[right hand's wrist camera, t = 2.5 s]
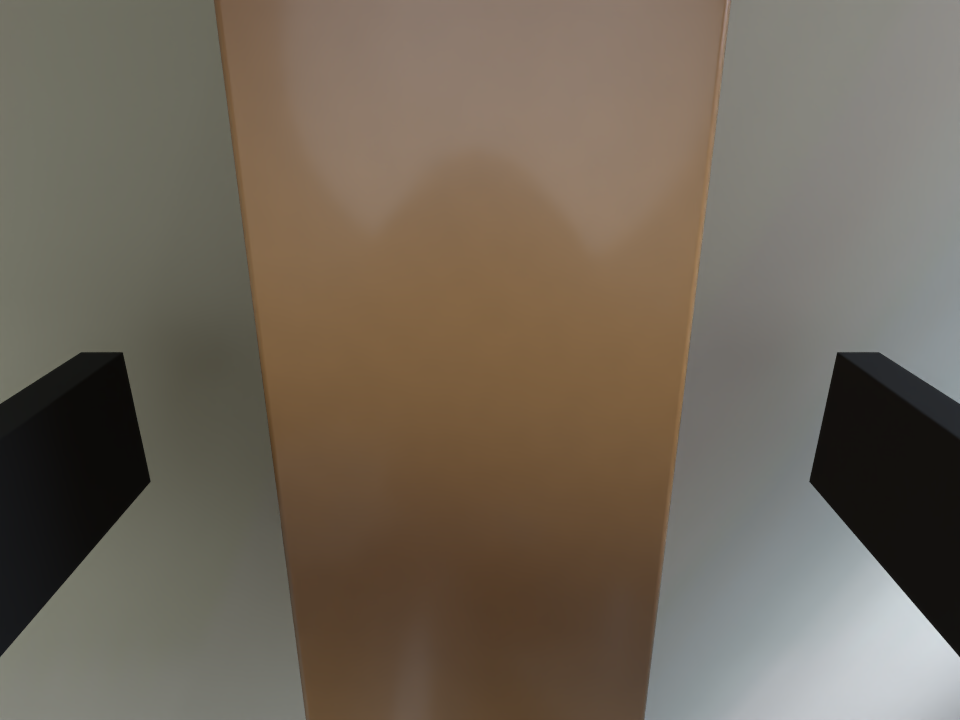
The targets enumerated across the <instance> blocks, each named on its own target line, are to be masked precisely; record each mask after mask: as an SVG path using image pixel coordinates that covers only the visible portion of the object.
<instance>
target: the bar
mask: <svg viewBox="0 0 960 720" xmlns="http://www.w3.org/2000/svg"><path fill="white" fill-rule="evenodd" d="M214 5H215V13H216V20H217V28H218V36H219V44H220V52H221V60H222V67H223V75H224V83H225V91H226V99H227V106H228V114H229V122H230V130H231V138H232V145H233V153H234V161H235V169H236V177H237V184H238V192H239V200H240V208H241V216H242V223H243V231H244V239H245V247H246V255H247V263H248V270H249V278H250V286H251V294H252V302H253V309H254V317H255V325H256V333H257V341H258V348H259V356H260V364H261V372H262V380H263V387H264V395H265V403H266V411H267V419H268V426H269V434H270V442H271V450H272V458H273V466H274V473H275V481H276V489H277V497H278V505H279V512H280V520H281V528H282V536H283V544H284V551H285V559H286V567H287V575H288V583H289V590H290V598H291V606H292V614H293V622H294V630H295V637H296V645H297V653H298V661H299V669H300V676H301V684H302V692H303V700H304V708H305V715H306V720H644V717H645V709H646V701H647V693H648V684H649V676H650V668H651V659H652V651H653V643H654V635H655V626H656V618H657V610H658V602H659V593H660V585H661V577H662V568H663V560H664V552H665V544H666V535H667V527H668V519H669V511H670V502H671V494H672V486H673V477H674V469H675V461H676V453H677V444H678V436H679V428H680V419H681V411H682V403H683V395H684V386H685V378H686V370H687V362H688V353H689V345H690V337H691V328H692V320H693V312H694V304H695V295H696V287H697V279H698V271H699V262H700V254H701V246H702V237H703V229H704V221H705V213H706V204H707V196H708V188H709V180H710V171H711V163H712V155H713V146H714V138H715V130H716V122H717V113H718V105H719V97H720V89H721V80H722V72H723V64H724V55H725V47H726V39H727V31H728V22H729V14H730V6H731V0H214Z"/></svg>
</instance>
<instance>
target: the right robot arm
mask: <svg viewBox="0 0 960 720" xmlns="http://www.w3.org/2000/svg"><path fill="white" fill-rule="evenodd" d="M150 482H151V481H150V476H149V472H148V467H147V463H146V458H145V453H144V449H143V444H142V439H141V435H140V430H139V425H138V421H137V416H136V412H135V407H134V402H133V398H132V393H131V388H130V384H129V379H128V375H127V370H126V365H125V361H124V356H123V352H81V353H79V354H78V355H76V356H75V357H73V358H72V359H70V360H68V361H67V362H65V363H64V364H62V365H61V366H59V367H57V368H56V369H54V370H53V371H51V372H50V373H48V374H46V375H45V376H43V377H42V378H40V379H39V380H37V381H36V382H34V383H32V384H31V385H29V386H28V387H26V388H25V389H23V390H21V391H20V392H18V393H17V394H15V395H14V396H12V397H11V398H9V399H7V400H6V401H4V402H3V403H1V404H0V657H1V655H2V654H3V653H4V652H5V651H6V650H7V648H8V647H9V646H10V645H11V644H12V643H13V641H14V640H15V639H16V638H17V637H18V636H19V634H20V633H21V632H22V631H23V630H24V629H25V627H26V626H27V625H28V624H29V623H30V622H31V620H32V619H33V618H34V617H35V616H36V615H37V613H38V612H39V611H40V610H41V609H42V608H43V606H44V605H45V604H46V603H47V602H48V601H49V599H50V598H51V597H52V596H53V595H54V594H55V592H56V591H57V590H58V589H59V588H60V587H61V585H62V584H63V583H64V582H65V581H66V580H67V578H68V577H69V576H70V575H71V574H72V573H73V571H74V570H75V569H76V568H77V567H78V566H79V564H80V563H81V562H82V561H83V560H84V559H85V557H86V556H87V555H88V554H89V553H90V552H91V550H92V549H93V548H94V547H95V546H96V545H97V543H98V542H99V541H100V540H101V539H102V538H103V536H104V535H105V534H106V533H107V532H108V531H109V529H110V528H111V527H112V526H113V525H114V524H115V522H116V521H117V520H118V519H119V518H120V517H121V515H122V514H123V513H124V512H125V511H126V510H127V508H128V507H129V506H130V505H131V504H132V503H133V501H134V500H135V499H136V498H137V497H138V496H139V494H140V493H141V492H142V491H143V490H144V489H145V487H146V486H147V485H148V484H149V483H150ZM809 482H810V483H811V484H812V485H813V486H814V487H815V489H816V490H817V491H818V492H819V493H820V494H821V496H822V497H823V498H824V499H825V500H826V501H827V503H828V504H829V505H830V506H831V507H832V508H833V510H834V511H835V512H836V513H837V514H838V515H839V517H840V518H841V519H842V520H843V521H844V522H845V524H846V525H847V526H848V527H849V528H850V529H851V531H852V532H853V533H854V534H855V535H856V536H857V538H858V539H859V540H860V541H861V542H862V543H863V545H864V546H865V547H866V548H867V549H868V550H869V552H870V553H871V554H872V555H873V556H874V557H875V559H876V560H877V561H878V562H879V563H880V564H881V566H882V567H883V568H884V569H885V570H886V571H887V573H888V574H889V575H890V576H891V577H892V578H893V580H894V581H895V582H896V583H897V584H898V585H899V587H900V588H901V589H902V590H903V591H904V592H905V594H906V595H907V596H908V597H909V598H910V599H911V601H912V602H913V603H914V604H915V605H916V606H917V608H918V609H919V610H920V611H921V612H922V613H923V615H924V616H925V617H926V618H927V619H928V620H929V622H930V623H931V624H932V625H933V626H934V627H935V629H936V630H937V631H938V632H939V633H940V634H941V636H942V637H943V638H944V639H945V640H946V641H947V643H948V644H949V645H950V646H951V647H952V648H953V650H954V651H955V652H956V653H957V654H958V655H959V657H960V404H959V403H957V402H956V401H954V400H953V399H951V398H949V397H948V396H946V395H945V394H943V393H942V392H940V391H939V390H937V389H935V388H934V387H932V386H931V385H929V384H928V383H926V382H924V381H923V380H921V379H920V378H918V377H917V376H915V375H914V374H912V373H910V372H909V371H907V370H906V369H904V368H903V367H901V366H899V365H898V364H896V363H895V362H893V361H892V360H890V359H888V358H887V357H885V356H884V355H882V354H881V353H879V352H837V356H836V361H835V365H834V370H833V375H832V379H831V384H830V388H829V393H828V398H827V402H826V407H825V412H824V416H823V421H822V425H821V430H820V435H819V439H818V444H817V449H816V453H815V458H814V463H813V467H812V472H811V476H810V481H809Z"/></svg>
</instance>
